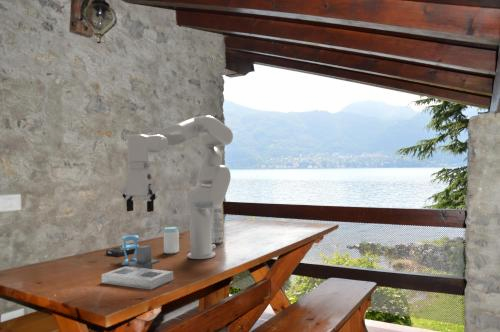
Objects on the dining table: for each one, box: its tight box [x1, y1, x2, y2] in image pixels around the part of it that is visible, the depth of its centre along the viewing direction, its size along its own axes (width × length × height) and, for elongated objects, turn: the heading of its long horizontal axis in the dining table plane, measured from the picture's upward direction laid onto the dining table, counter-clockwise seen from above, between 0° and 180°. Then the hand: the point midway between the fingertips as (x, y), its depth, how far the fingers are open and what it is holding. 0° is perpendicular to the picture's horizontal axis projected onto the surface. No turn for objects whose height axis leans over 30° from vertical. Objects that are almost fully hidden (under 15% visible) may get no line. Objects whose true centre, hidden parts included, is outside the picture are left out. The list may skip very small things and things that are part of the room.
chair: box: [121, 234, 140, 266], centre depth 167 cm, size 8×8×12 cm
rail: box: [101, 265, 174, 291], centre depth 138 cm, size 12×22×3 cm, turn 65°
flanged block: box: [127, 244, 160, 269], centre depth 153 cm, size 8×8×9 cm
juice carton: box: [208, 203, 225, 244], centre depth 207 cm, size 9×8×24 cm
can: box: [162, 226, 180, 255], centre depth 184 cm, size 7×7×12 cm
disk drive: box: [105, 246, 135, 258], centre depth 187 cm, size 10×3×15 cm
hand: (140, 211), depth 148 cm, fingers open, 9 cm apart
